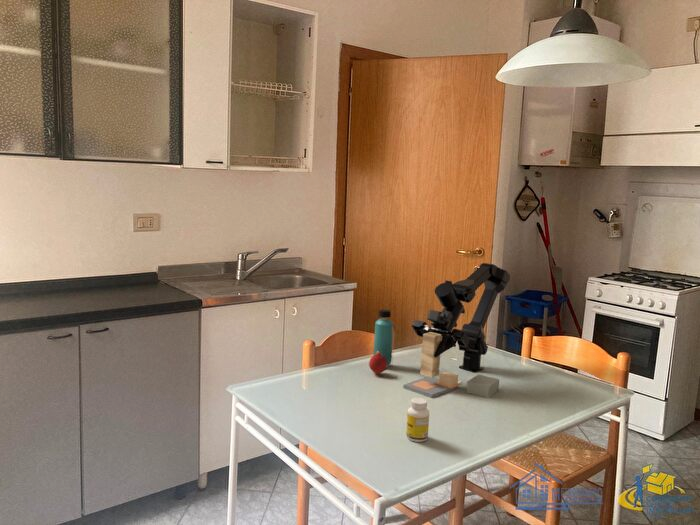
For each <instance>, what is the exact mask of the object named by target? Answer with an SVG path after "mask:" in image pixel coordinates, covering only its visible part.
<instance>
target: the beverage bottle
mask: <svg viewBox="0 0 700 525" xmlns="http://www.w3.org/2000/svg"><path fill="white" fill-rule="evenodd" d="M378 317H380V318H378V319H377V320H376V321H375V324H374V325H375V326H374V338H373V340H374V341H373V356H374V355H375V354H376V353H377V351H379V352H380V354H382V355H383V356H384V357H385V359H386V361H387V366H389V365H390V364H391V363H392V359H393V339H394V338H393V334H394V332H393V331H394V322H393V321H392V320H391V319H389V318H391V310H389V309H379V311H378Z"/></svg>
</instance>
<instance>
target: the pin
mask: <svg viewBox="0 0 700 525" xmlns="http://www.w3.org/2000/svg"><path fill="white" fill-rule="evenodd" d="M441 340H442V335H441V334H437V333H433V332H428V333H425V334H423V337H422V345H421V358H420V359H421V360H420V375H422V376H425V377H437V376H439V375H440V365H441V354H440V355H439V356H438V357H434V354H435V352H436V350H437V348H438V346H439V344H440V342H441Z"/></svg>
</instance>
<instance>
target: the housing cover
mask: <svg viewBox="0 0 700 525" xmlns="http://www.w3.org/2000/svg"><path fill="white" fill-rule="evenodd" d="M499 388H500V379H499V378H496V377H493V376H492V377H491V376H487V375H482V374H480V373H479V374H476V375H475V376H473V377H472V378H470V379H468V381H467V383H466V393H469V394H472V395H473V394H474V395H476V396H481V397H484V398H489V397H491V396H492V395H494V394H495V393H496V392H498V391H499Z"/></svg>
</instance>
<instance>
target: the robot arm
mask: <svg viewBox="0 0 700 525" xmlns="http://www.w3.org/2000/svg"><path fill="white" fill-rule="evenodd" d="M510 279H511V276H510V273H509V272H508V271H507V270H505V269H503V268H501V267H498V266H497V265H496V264H493V263H487V262H482V263H480V265H479V267H478V268H477V269H476V270H474V272H472V273H471V274H470V275H469V276H468V277H466V278H465V279H463V280H458V281H456V282H454V283H453V282H452V281H451V280H445V281H444V282H443V283H440V284H438V285H437V286H436V287H435V289H434V294H435V296H436V298H437V300H438V302H439V303H440V305H441V306H442V307H443V308H442V310H441V311H438V310H433V309H429V311H428V314H427V317H426V320H427V321H430V324H431V326H432V327H431V326H429V325H428V324H427V322H426V321H422V320H418V319H415V320H414V321H413V323H412V325H411V328H412V330H413V331H414V333H415V334H416V335H417V336H418V337H421V338H423V334H425V333H428V332H433V333H437V334H441V335H442V339H441V342H440V344H439V346H438V348H437V350H436V352H435V354H434V357H438V356H439V355H440V356H441V354H444V353H445V352H446V351H449V350H450V349H452V348H453V347H454V348H456V347H457V345H458V350H459V351H463V358H462V360H463V361H462V365H459V366H458V368H460V369H461V370H466V371H469V372H472V373H476V372H480V371H482V370H484V369H485V367H484V366H481V363H482V362H481V361H482V355H483V356H486V354H487V352H488V349H489V347H488V345H487V343H486V341H485V339H486V334H485V330H484V329H485V327H486V324H487V321H488V319H489V316H490V314H491V311H492V308H493V306H494V303H495V301H496V299H497V297H498V294H499V293H501V292H502V291H503V290H505V289H506V287H507V285H508V283H509V282H510ZM483 284H484V290H483V292H482V294H481V296H480V299H479V301H478V304H477V305H476V306H477V307H476V309H475V311H474V313H473V316H472V318H471V320H470V322H469V323H464V324H463V325H462V328H461V329H458V328H457V327H458V324H457V322H458V320H459V318H460V316H461V314H463V315H464V314H465V313H466V309H465V305H463V303H468V304H469V303H471V302H472V301H473V300H474V298H475V297H476V291H477V290H478V289H479V288H480V287H481V286H482V285H483ZM456 344H457V345H456Z"/></svg>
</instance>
